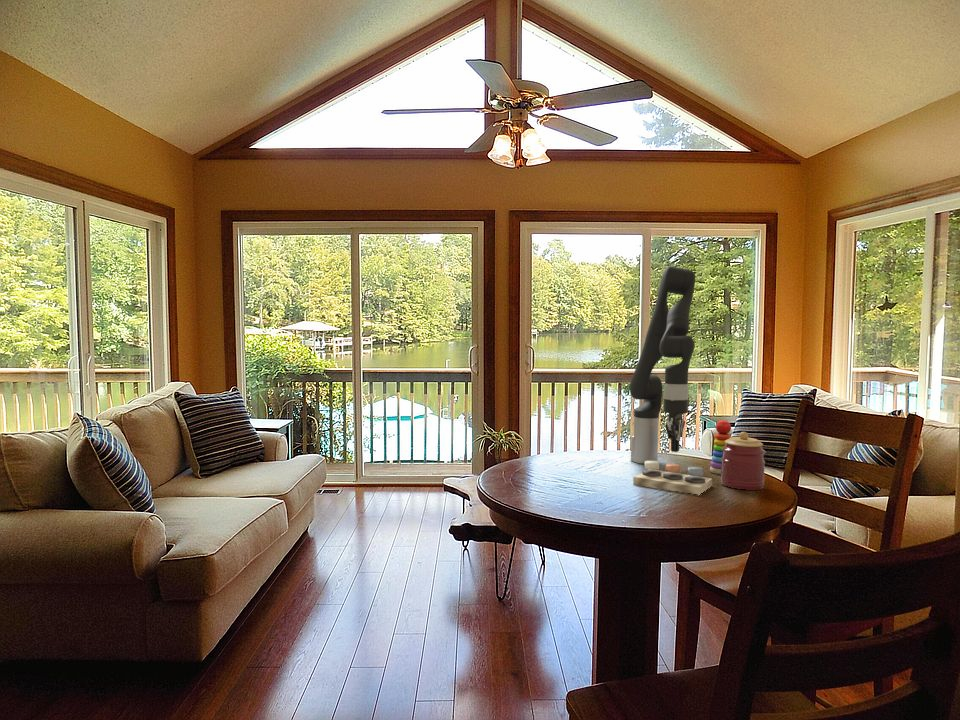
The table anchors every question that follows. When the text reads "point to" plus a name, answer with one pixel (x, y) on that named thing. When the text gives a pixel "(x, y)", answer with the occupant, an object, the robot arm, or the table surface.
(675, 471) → the terracotta button
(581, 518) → the table surface
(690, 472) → the slate button
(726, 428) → the stacking toy
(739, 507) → the table surface
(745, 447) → the canister
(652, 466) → the ivory button
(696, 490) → the button panel
